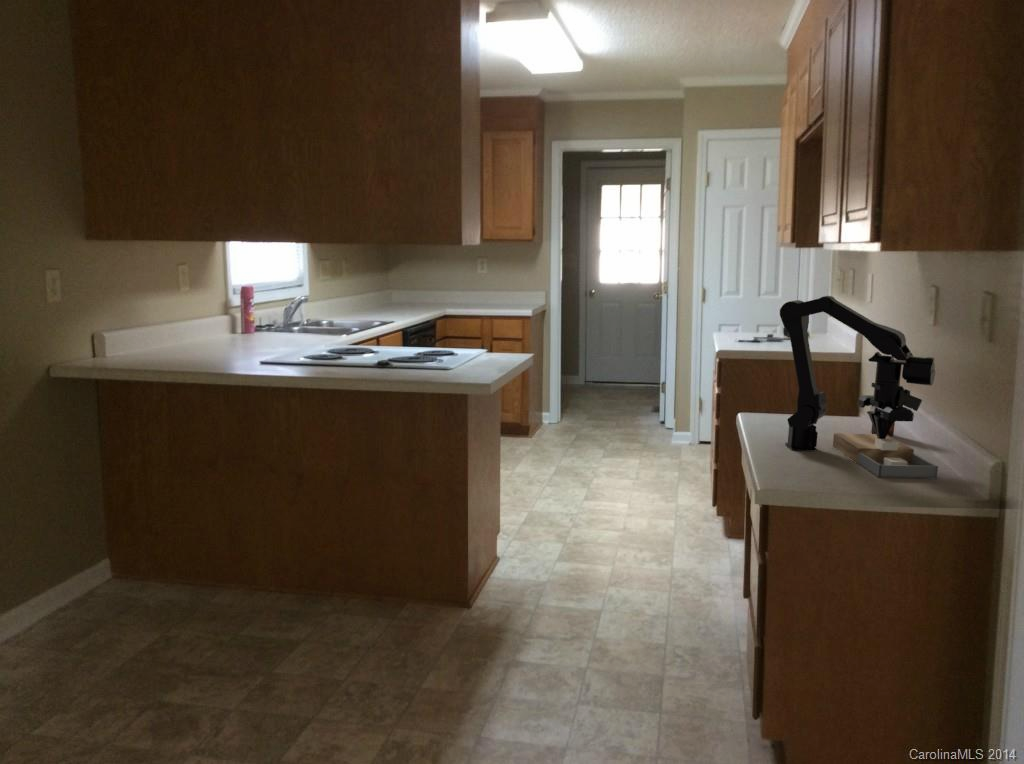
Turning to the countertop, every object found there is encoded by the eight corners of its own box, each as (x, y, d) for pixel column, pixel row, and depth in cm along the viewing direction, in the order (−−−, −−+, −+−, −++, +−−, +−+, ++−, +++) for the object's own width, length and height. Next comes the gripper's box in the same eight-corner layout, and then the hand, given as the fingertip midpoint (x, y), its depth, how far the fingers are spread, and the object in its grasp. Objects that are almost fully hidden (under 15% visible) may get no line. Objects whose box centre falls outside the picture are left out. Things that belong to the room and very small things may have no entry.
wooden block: (857, 463, 220) (858, 448, 219) (832, 447, 235) (834, 433, 235) (912, 464, 220) (914, 449, 219) (884, 448, 236) (885, 434, 235)
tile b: (884, 457, 217) (883, 465, 217) (891, 461, 213) (890, 469, 213) (900, 457, 217) (899, 465, 217) (907, 462, 213) (906, 470, 213)
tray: (878, 477, 208) (879, 465, 207) (857, 464, 220) (858, 452, 219) (936, 478, 208) (937, 466, 208) (912, 465, 220) (913, 453, 219)
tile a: (881, 450, 218) (882, 442, 217) (874, 446, 222) (875, 438, 221) (897, 450, 218) (898, 442, 218) (890, 446, 222) (890, 438, 221)
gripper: (938, 388, 211) (931, 451, 213) (901, 374, 229) (895, 433, 232) (892, 387, 210) (886, 450, 213) (859, 374, 229) (854, 432, 231)
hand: (881, 441), depth 222 cm, fingers closed
